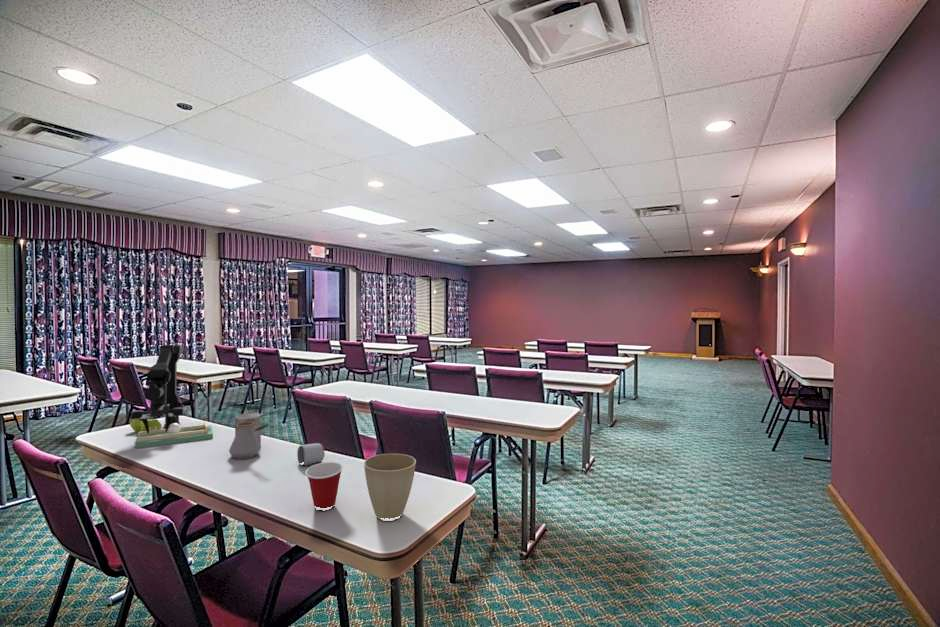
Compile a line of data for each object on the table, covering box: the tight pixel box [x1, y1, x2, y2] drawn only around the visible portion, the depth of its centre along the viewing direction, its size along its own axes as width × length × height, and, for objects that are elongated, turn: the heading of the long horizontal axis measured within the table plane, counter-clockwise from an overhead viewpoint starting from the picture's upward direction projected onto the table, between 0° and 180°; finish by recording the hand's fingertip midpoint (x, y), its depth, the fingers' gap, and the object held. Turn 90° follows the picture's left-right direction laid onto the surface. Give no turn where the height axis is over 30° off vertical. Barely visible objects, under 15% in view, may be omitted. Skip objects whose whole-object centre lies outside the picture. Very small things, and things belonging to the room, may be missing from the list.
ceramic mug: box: [296, 442, 325, 466], centre depth 174 cm, size 11×8×8 cm
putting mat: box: [135, 420, 214, 449], centre depth 202 cm, size 16×28×5 cm, turn 122°
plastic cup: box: [304, 461, 344, 508], centre depth 136 cm, size 11×11×12 cm
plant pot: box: [363, 453, 417, 519], centre depth 131 cm, size 15×15×16 cm
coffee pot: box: [228, 422, 272, 460], centre depth 178 cm, size 21×12×15 cm, turn 58°
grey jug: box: [234, 412, 262, 446], centre depth 191 cm, size 10×10×15 cm
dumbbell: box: [129, 417, 162, 433], centre depth 210 cm, size 16×8×7 cm, turn 54°
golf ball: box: [168, 423, 182, 434], centre depth 202 cm, size 5×5×5 cm
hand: (157, 432), depth 198 cm, fingers open, 6 cm apart
